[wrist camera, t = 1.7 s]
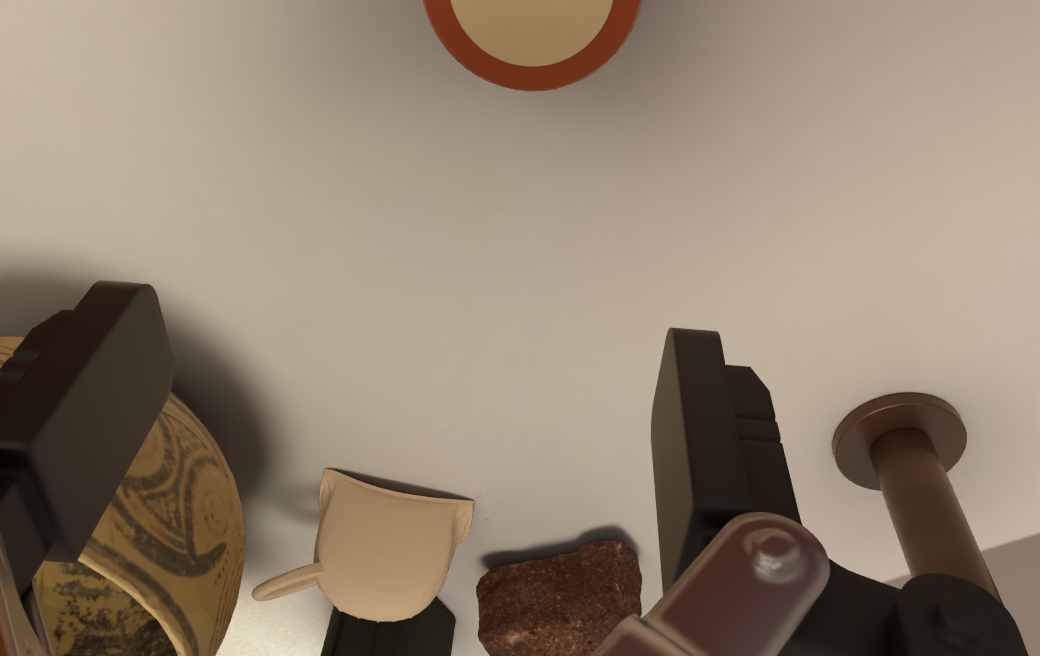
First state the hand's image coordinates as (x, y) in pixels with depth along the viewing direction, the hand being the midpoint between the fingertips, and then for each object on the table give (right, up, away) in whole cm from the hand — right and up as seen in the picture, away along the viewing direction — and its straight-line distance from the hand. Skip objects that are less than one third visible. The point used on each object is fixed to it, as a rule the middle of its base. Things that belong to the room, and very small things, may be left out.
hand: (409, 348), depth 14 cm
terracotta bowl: (+2, +11, +11) cm, 16 cm away
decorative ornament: (-5, -8, +26) cm, 28 cm away
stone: (+3, -10, +28) cm, 30 cm away
